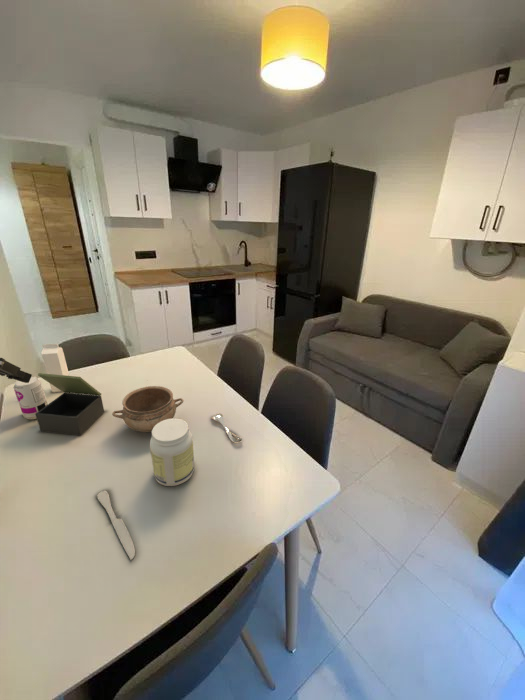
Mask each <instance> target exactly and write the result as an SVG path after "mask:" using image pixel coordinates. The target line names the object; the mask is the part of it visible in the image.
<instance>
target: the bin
mask: <svg viewBox="0 0 525 700" xmlns="http://www.w3.org/2000/svg"><path fill="white" fill-rule="evenodd" d="M104 413H105V407H104V402H103V398H102V395H101V396H98V395H87V394H76V393H65V392H62V394H60V395H59V396H57V397H56V398H55V399H54V400H52V401H51V402H49V403H48V405H47V406H45V407H44V408H43V409H41V410H40V411H39V412H37V413H36V414H35V415H36V418H37V419H36V421H37V424H38V426H39V431H40V432H43V433H44V432H45V433H55V434H63V435H64V434H65V435H73V436H82V435H83V434H84V433H85V432H86V431H87V430H88V429H89V428H90V427H91V426H92V425H93V424H94V423H95V422H96V421H98V419H99V418H100V417H101V416H102V415H103V414H104Z"/></svg>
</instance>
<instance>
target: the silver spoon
mask: <svg viewBox="0 0 525 700" xmlns="http://www.w3.org/2000/svg"><path fill="white" fill-rule="evenodd" d="M210 418H211V419H212V420H214V421H216V422H218V423H220V424H221V425H222V426H223V428H224V429H225V432H226V434H227V436H228V438H229V440H231V442H233V443H242V441H243V438H242V437H241V436H239V435H237V434H234V433H233V432H232V431H230V429H229V428H228V427H227V425H226V423H225V415H224V414H222V413H221V412H219V413H216V414H213V415H212V416H211V417H210Z"/></svg>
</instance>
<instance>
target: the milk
mask: <svg viewBox="0 0 525 700" xmlns="http://www.w3.org/2000/svg"><path fill="white" fill-rule="evenodd" d="M41 345H42V350H41V353H40V354H41V358H42V361H43V365H44V366H43V367H44V369H45V372H46V373H45V374H54V375H65V376H70V373H69V369H68V365H67V360H66V356H65V353H64V349H63V347H62V346H59V343H44V344H43V343H42V344H41ZM49 387H50V389H51V392H52V393H58V392H59V393H61V392H62V391H61V390H59V389H58V388H56V387H55V386H53V385H52V384H50V383H49ZM62 393H63V392H62Z"/></svg>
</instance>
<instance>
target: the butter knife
mask: <svg viewBox="0 0 525 700" xmlns="http://www.w3.org/2000/svg"><path fill="white" fill-rule="evenodd" d="M96 498H97V500H98V502H99V503H100V504H101V506H102V507H103V508H104V509H105V511H106V512H107V515H108V518H109V520H110V522H111V524H112V526H113V528H114V530H115V533H116V534H117V537H118V539H119V541H120V543H121V545H122V547H123V549H124V551H125V552H126V554H127V556H128V558H129V560H133V559H134V557H135V555H136V550H135V545H134V542H133V540H132V537H131V535H130V533H129V530H128V528H127V527H126V524H125V522H124V520H123V519H122V518H117V516H116V514H115V512H114V509H113V508H112V503H111V498H110V495H109V493H108V491H107V490H101V491H100V492H99V493H97V494H96Z"/></svg>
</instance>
